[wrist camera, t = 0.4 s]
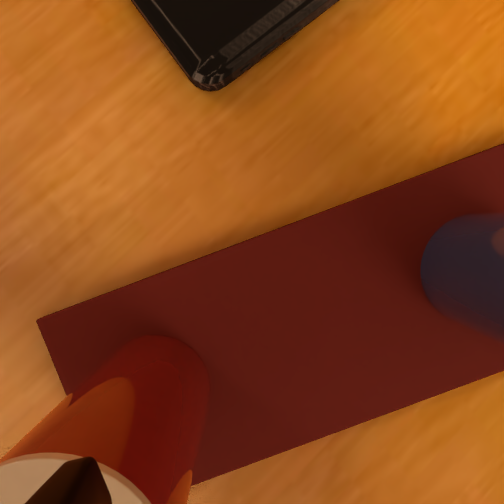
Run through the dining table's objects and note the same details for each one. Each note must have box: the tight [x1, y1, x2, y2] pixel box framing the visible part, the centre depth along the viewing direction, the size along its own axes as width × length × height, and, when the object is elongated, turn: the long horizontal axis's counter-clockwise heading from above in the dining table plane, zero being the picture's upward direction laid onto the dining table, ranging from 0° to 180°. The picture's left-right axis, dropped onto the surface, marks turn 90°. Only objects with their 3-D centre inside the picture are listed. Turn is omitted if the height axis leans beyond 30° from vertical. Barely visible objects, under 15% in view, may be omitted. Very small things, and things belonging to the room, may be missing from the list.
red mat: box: [36, 143, 504, 486], centre depth 23 cm, size 24×10×1 cm, turn 111°
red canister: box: [0, 334, 211, 504], centre depth 16 cm, size 5×5×12 cm
